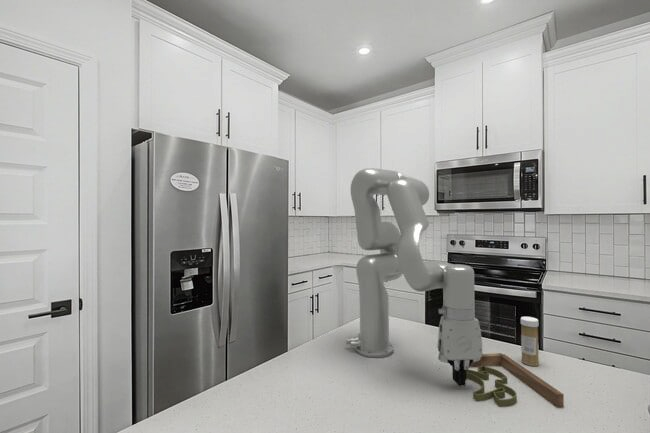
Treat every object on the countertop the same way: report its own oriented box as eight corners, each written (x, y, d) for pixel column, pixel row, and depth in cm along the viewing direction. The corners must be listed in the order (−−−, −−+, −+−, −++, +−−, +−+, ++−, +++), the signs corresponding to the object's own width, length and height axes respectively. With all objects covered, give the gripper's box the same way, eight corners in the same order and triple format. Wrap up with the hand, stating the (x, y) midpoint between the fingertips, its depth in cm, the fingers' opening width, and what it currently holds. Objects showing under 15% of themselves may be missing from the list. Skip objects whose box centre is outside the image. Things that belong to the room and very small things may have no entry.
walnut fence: (502, 410, 74) (502, 397, 74) (455, 365, 97) (455, 355, 97) (563, 407, 76) (563, 394, 76) (502, 363, 98) (502, 353, 98)
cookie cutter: (451, 371, 94) (451, 364, 94) (494, 372, 94) (494, 365, 94) (478, 408, 76) (478, 399, 76) (531, 409, 76) (531, 400, 76)
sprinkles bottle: (541, 364, 97) (541, 318, 97) (534, 368, 95) (534, 321, 95) (525, 358, 101) (525, 315, 101) (518, 362, 99) (517, 317, 99)
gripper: (436, 318, 81) (437, 392, 81) (494, 316, 82) (495, 389, 82) (425, 309, 88) (425, 377, 88) (478, 308, 89) (479, 375, 89)
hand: (459, 383), depth 85 cm, fingers closed
